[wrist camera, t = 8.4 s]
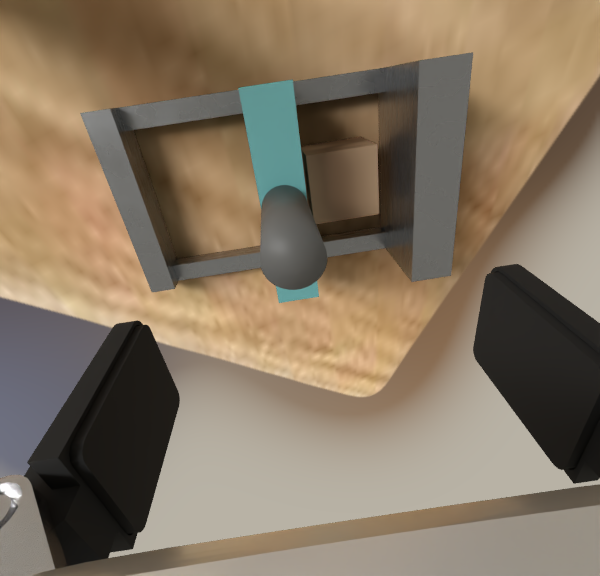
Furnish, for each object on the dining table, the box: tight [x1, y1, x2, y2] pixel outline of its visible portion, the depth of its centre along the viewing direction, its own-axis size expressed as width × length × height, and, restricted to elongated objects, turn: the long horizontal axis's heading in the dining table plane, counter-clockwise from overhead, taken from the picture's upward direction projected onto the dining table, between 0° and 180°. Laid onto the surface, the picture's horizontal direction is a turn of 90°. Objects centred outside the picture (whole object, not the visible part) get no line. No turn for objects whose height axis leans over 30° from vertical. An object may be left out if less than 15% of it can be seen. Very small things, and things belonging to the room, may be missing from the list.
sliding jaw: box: [238, 80, 327, 303], centre depth 22 cm, size 3×14×14 cm, turn 8°
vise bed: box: [80, 53, 473, 292], centre depth 26 cm, size 24×14×8 cm, turn 98°
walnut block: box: [301, 137, 379, 224], centre depth 27 cm, size 5×5×5 cm
